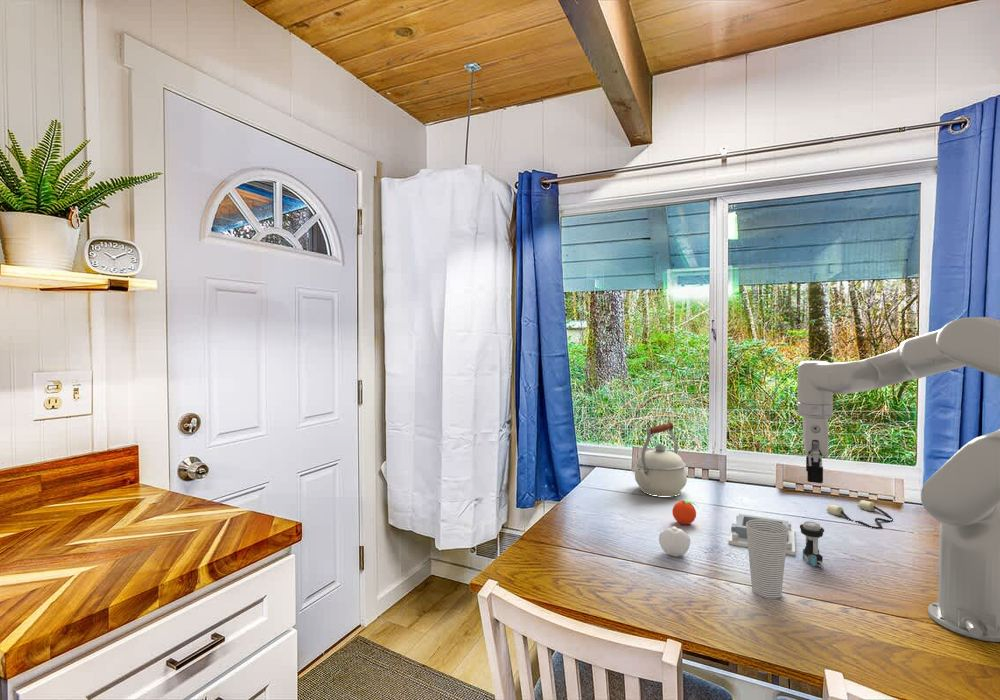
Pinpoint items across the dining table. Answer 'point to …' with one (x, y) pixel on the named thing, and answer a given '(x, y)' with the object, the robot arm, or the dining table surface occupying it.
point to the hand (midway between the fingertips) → (814, 477)
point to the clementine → (684, 512)
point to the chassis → (740, 532)
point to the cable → (863, 505)
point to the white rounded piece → (674, 541)
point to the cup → (766, 556)
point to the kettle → (660, 467)
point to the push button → (812, 543)
